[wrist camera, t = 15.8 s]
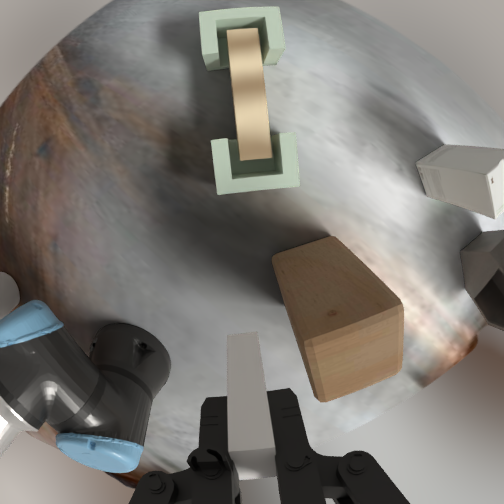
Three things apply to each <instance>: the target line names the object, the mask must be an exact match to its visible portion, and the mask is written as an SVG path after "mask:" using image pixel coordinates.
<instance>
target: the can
mask: <svg viewBox="0 0 504 504" xmlns="http://www.w3.org/2000/svg"><path fill="white" fill-rule="evenodd" d="M19 300H20V296H19V289H18V286H17V284H16V282H15V281H14V279H13V278H12V277H11V276H10V275H8V274H6V273H4V272H0V319H2V318H3V317H5V316H6V315H8V314H9V313H10V312H11V311H12V310H13V309H14V308H15V307H16V306H17V305H18V303H19Z"/></svg>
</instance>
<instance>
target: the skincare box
mask: <svg viewBox="0 0 504 504" xmlns="http://www.w3.org/2000/svg"><path fill="white" fill-rule="evenodd" d="M416 166H417V169H418V172H419V174H420V177H421V180H422V183H423V186H424V189H425V192H426V195H427V197H430V198H433V199H436V200H440V201H443V202H446V203H449V204H453V205H456V206H459V207H462V208H465V209H468V210H471V211H474V212H476V213H479V214H482V215H485V216H487V217H490V218H493V219H496V218H497V217H498V216H499V215H500V214H501V213H502V212H503V211H504V149H497V148H487V147H476V146H462V145H446V144H445V145H443V146H441V147H440V148H438V149H436V150H435V151H433V152H432V153H430V154H428V155H427V156H425V157H424V158H422V159H420V160H419V161H417V162H416Z"/></svg>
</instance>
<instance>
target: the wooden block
mask: <svg viewBox="0 0 504 504" xmlns="http://www.w3.org/2000/svg"><path fill="white" fill-rule="evenodd" d="M272 265H273V268H274V271H275V275H276V278H277V281H278V284H279V288H280V291H281V294H282V297H283V301H284V304H285V307H286V310H287V313H288V316H289V319H290V322H291V325H292V329H293V332H294V335H295V338H296V341H297V344H298V347H299V350H300V353H301V356H302V359H303V362H304V365H305V368H306V372H307V375H308V378H309V381H310V384H311V387H312V390H313V393H314V397H315V398H317V399H318V400H319V401H320V402H328V401H331V400H334V399H337V398H340V397H342V396H345V395H348V394H350V393H353V392H356V391H358V390H361V389H363V388H366V387H368V386H371V385H373V384H375V383H378V382H380V381H382V380H385V379H387V378H389V377H391V376H394V375H396V374H397V373H398V372H399V371H400V370H401V368H402V358H403V335H404V308H403V304H402V302H401V300H400V299H399V298H398V297H397V296H396V295H395V294H394V293H393V292H392V291H391V290H390V289H389V288H388V287H387V286H386V285H385V284H384V283H383V282H382V281H381V280H380V279H379V278H378V277H377V276H376V275H375V274H374V273H373V272H372V271H371V270H370V269H369V268H368V267H367V266H366V265H365V264H364V263H363V262H362V261H361V260H360V259H359V258H358V257H357V256H356V255H354V254H353V253H352V252H351V251H350V250H349V249H348V248H347V247H346V246H345V245H344V244H343V243H342V242H341V241H339V240H338V239H337V238H336V237H334V236H329V237H326V238H323V239H320V240H317V241H314V242H311V243H308V244H304V245H301V246H298V247H295V248H292V249H289V250H286V251H283V252H280V253H276V254H275V255H273V256H272Z"/></svg>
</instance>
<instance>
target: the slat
mask: <svg viewBox="0 0 504 504" xmlns="http://www.w3.org/2000/svg"><path fill="white" fill-rule="evenodd" d="M227 49H228V59H229V68H230V78H231V87H232V97H233V106H234V115H235V125H236V134H237V143H238V153H239V160H240V161H244V160H253V159H264V158H272V149H271V139H270V129H269V119H268V110H267V101H266V92H265V83H264V74H263V66H262V58H261V50H260V42H259V34H258V28H248V29H234V30H227Z"/></svg>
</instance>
